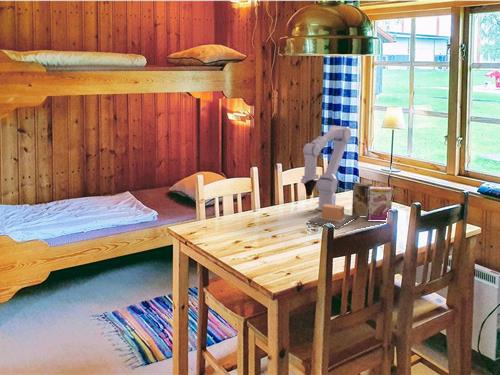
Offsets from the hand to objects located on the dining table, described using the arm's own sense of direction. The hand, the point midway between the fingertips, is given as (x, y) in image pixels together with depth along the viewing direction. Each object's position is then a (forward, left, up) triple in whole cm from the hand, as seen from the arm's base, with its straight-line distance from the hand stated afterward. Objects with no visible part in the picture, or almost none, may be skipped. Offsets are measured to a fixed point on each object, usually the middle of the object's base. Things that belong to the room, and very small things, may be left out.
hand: (309, 195), depth 280 cm
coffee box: (-15, +22, -11) cm, 28 cm away
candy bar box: (-12, +32, -11) cm, 36 cm away
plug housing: (+1, +14, -9) cm, 17 cm away
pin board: (+1, +14, -10) cm, 18 cm away
